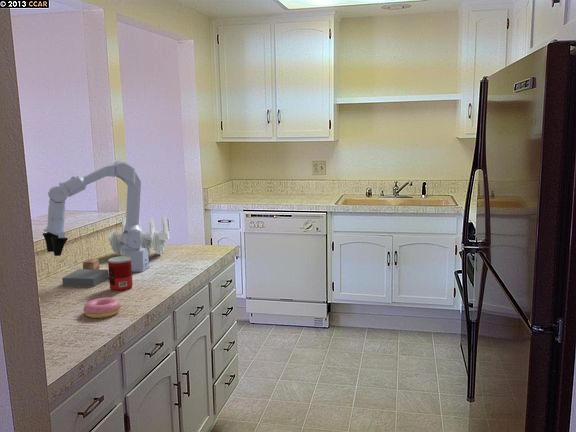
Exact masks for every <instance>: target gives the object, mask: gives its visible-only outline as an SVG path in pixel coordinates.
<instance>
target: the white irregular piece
mask: <svg viewBox="0 0 576 432" xmlns="http://www.w3.org/2000/svg"><path fill="white" fill-rule="evenodd" d="M141 221H142V220H141V219H140V218H139V228H140V235H141V238H142V244H141V248H146V249H147V250H148V255H149V253H152V248H153V250H154V252H155V253H156V254H157V255H159V256H160V255H161V256H162V253H165V246H167V241H168V240H170V232H169V229H170V228H169V226H168V220H167V217H166V216H165V217H163V220H162V226H163V230H160V231H159V230H158V231H156V227H155V226H156V225H155V220H154V217H150V219H149V231H143V227H142V222H141ZM125 225H126V216H125V217H123V218H122V222H121V233H116V229H115V228H113V229H112V231H111V233H110V235H109V237H108V241H109V244H110V246H111V249H112V251H113V253H114V254H115V255H119V256H122V255H123V246H124V243H123V242H122V240H121V236H122V234H123V232H124V227H125Z"/></svg>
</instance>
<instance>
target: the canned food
mask: <svg viewBox="0 0 576 432" xmlns="http://www.w3.org/2000/svg"><path fill="white" fill-rule="evenodd" d="M107 264H108V265H107V266H108V267H107V268H108V275H109V277H108V279H109V288H110V290H111V291H112V292H125V291H129V290H131V289H132V288H133V285H134V283H133V272H132V265H131V257H127V256H122V255H121V256H120V255H119V256H114V257H110V258H109V259H108V260H107Z"/></svg>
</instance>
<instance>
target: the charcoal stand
mask: <svg viewBox="0 0 576 432" xmlns="http://www.w3.org/2000/svg"><path fill="white" fill-rule="evenodd" d="M61 279H62V281H61V283H62V287H88V288H89V287H90V288H91V287H92V288H93V287H95V286H98V285H99V284H101V283H102V282H104V281H105V280H106V279H109V269H99V270H91V269H83V268H82V269H81V268H78V269H76V270H75V271H73V272H71V273H69V274H67V275H66V276H63V277H62V278H61Z"/></svg>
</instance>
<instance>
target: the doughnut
mask: <svg viewBox="0 0 576 432" xmlns="http://www.w3.org/2000/svg"><path fill="white" fill-rule="evenodd" d="M120 310H121V302H120V301H119V300H118V299H116V298H114V297H100V298H99V297H98V298H97V297H96V298H95V299H92V300H89V301H88V302H86V303H85V304H84V306H83V313H84V314H85V316H87V317H88V318H91V319H105V318H110V317H112V316H115V315H116V314H118V313H119V312H120Z"/></svg>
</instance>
